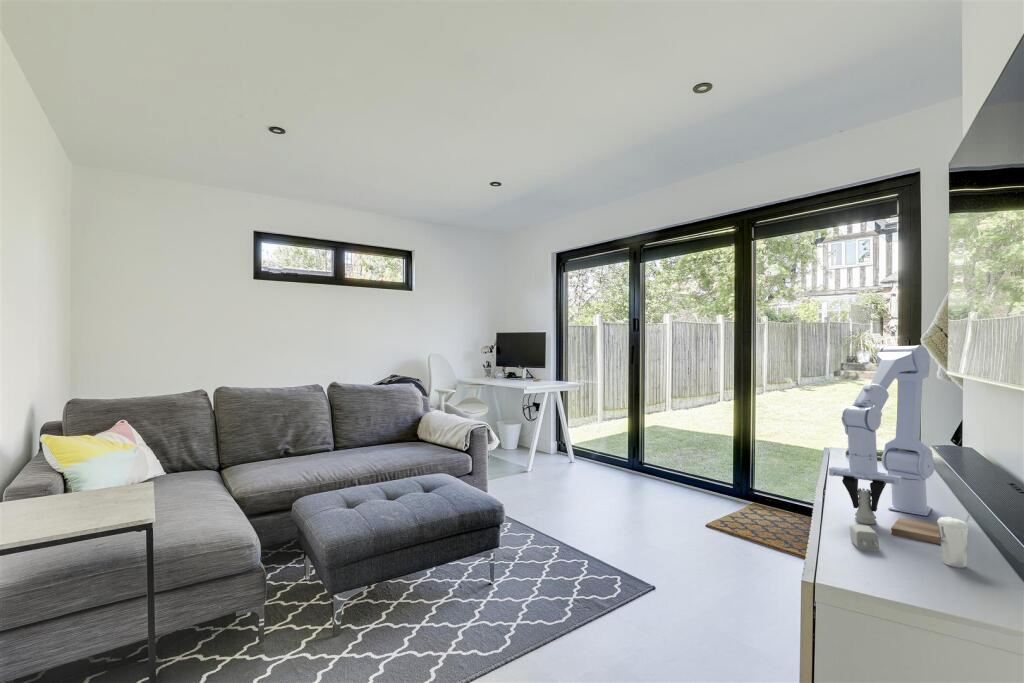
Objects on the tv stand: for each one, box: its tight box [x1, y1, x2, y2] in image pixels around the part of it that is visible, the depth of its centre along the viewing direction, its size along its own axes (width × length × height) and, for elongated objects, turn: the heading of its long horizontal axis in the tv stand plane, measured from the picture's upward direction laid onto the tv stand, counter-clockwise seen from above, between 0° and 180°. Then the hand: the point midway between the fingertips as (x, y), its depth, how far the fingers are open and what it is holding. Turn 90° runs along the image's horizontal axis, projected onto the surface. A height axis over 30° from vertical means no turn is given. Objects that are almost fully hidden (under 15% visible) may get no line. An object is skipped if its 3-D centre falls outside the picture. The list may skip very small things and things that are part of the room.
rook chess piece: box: [854, 487, 878, 526], centre depth 119 cm, size 4×4×8 cm
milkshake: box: [936, 513, 971, 569], centre depth 94 cm, size 4×5×10 cm
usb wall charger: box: [849, 524, 880, 552], centre depth 102 cm, size 4×7×4 cm, turn 159°
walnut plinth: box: [890, 517, 941, 545], centre depth 110 cm, size 10×10×2 cm
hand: (865, 508), depth 119 cm, fingers closed on rook chess piece, 3 cm apart
